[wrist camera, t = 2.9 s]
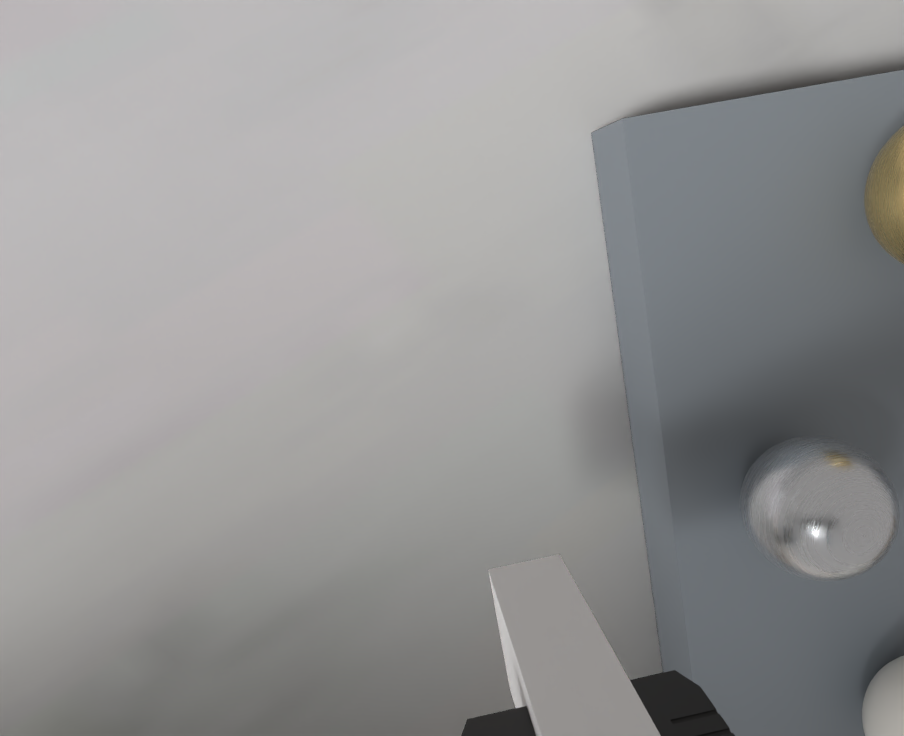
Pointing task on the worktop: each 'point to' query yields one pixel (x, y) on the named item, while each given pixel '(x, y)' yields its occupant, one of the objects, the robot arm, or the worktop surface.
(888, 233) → the brass ball
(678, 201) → the board
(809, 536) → the steel ball
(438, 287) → the worktop surface
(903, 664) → the white ball
